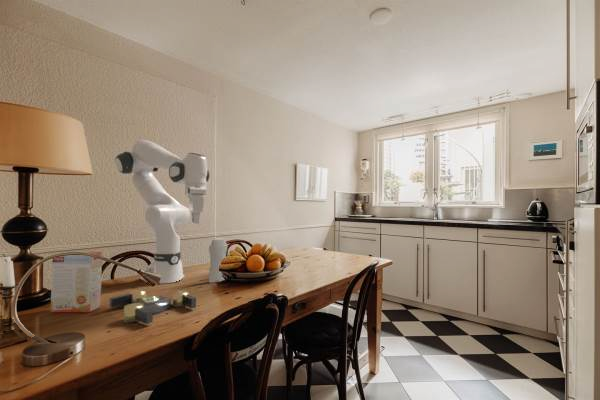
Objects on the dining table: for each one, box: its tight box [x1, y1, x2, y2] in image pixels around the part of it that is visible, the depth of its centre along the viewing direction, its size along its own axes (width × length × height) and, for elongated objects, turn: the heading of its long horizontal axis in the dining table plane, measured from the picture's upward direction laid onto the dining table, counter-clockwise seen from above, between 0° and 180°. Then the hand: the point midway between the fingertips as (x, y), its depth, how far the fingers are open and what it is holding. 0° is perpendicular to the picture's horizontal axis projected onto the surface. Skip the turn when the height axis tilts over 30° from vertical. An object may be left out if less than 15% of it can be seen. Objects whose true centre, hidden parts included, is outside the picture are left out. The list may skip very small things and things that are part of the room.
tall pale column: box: [208, 237, 228, 284], centre depth 142 cm, size 11×4×22 cm, turn 140°
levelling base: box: [132, 295, 172, 316], centre depth 102 cm, size 13×13×5 cm
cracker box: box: [50, 251, 103, 313], centre depth 100 cm, size 14×6×21 cm, turn 90°
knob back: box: [109, 288, 147, 309], centre depth 105 cm, size 12×6×4 cm, turn 147°
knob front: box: [123, 303, 154, 325], centre depth 90 cm, size 12×6×4 cm, turn 59°
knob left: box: [172, 290, 197, 309], centre depth 104 cm, size 12×6×4 cm, turn 51°
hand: (195, 222), depth 118 cm, fingers open, 8 cm apart
